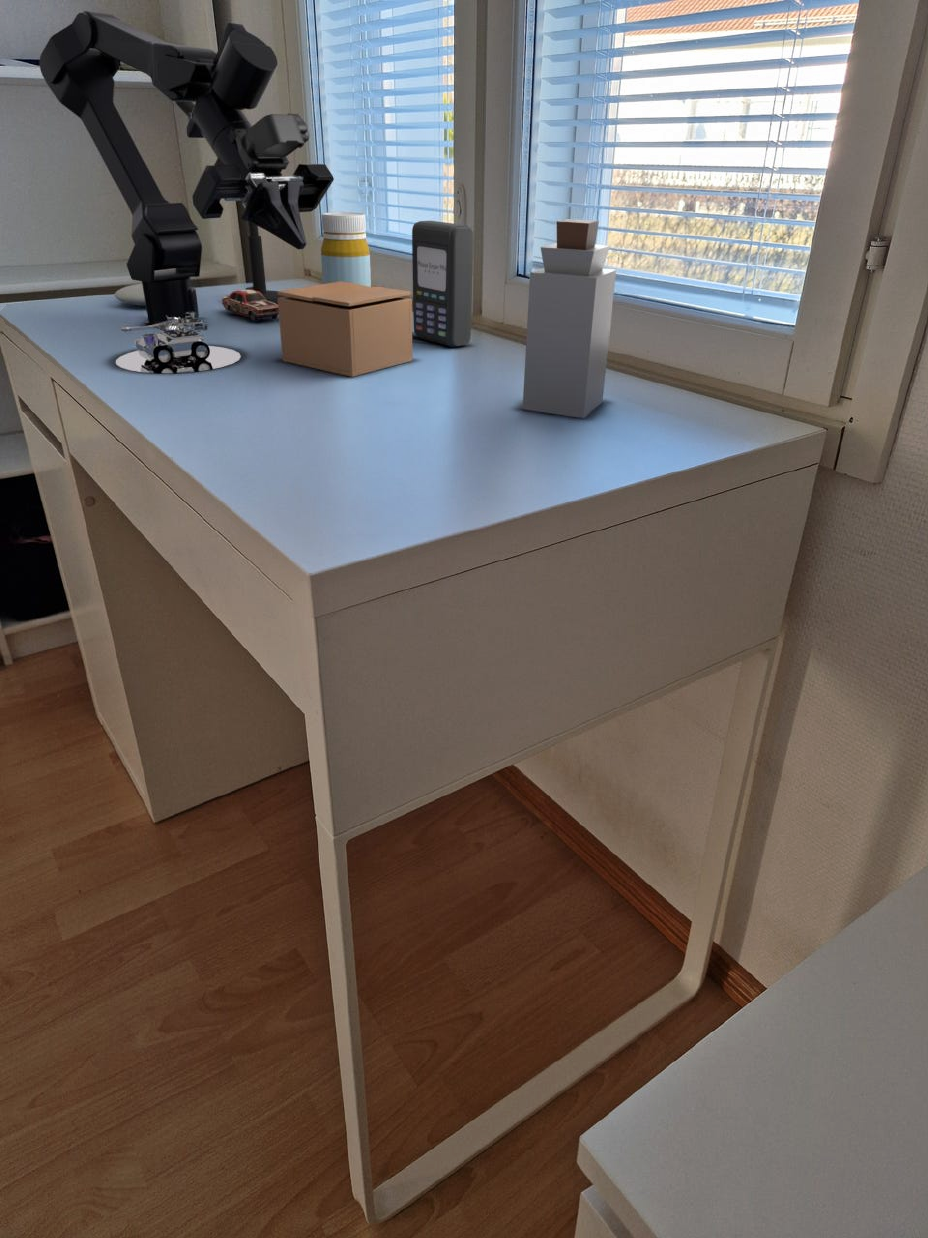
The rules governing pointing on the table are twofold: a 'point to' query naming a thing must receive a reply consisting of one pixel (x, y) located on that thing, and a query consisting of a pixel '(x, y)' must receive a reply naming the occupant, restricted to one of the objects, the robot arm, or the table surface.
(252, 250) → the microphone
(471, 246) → the card reader
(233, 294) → the race car
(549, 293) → the perfume bottle
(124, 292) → the cushion
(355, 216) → the bottle
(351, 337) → the carton
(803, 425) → the table surface
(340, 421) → the table surface
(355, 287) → the lid flap
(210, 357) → the toy car
